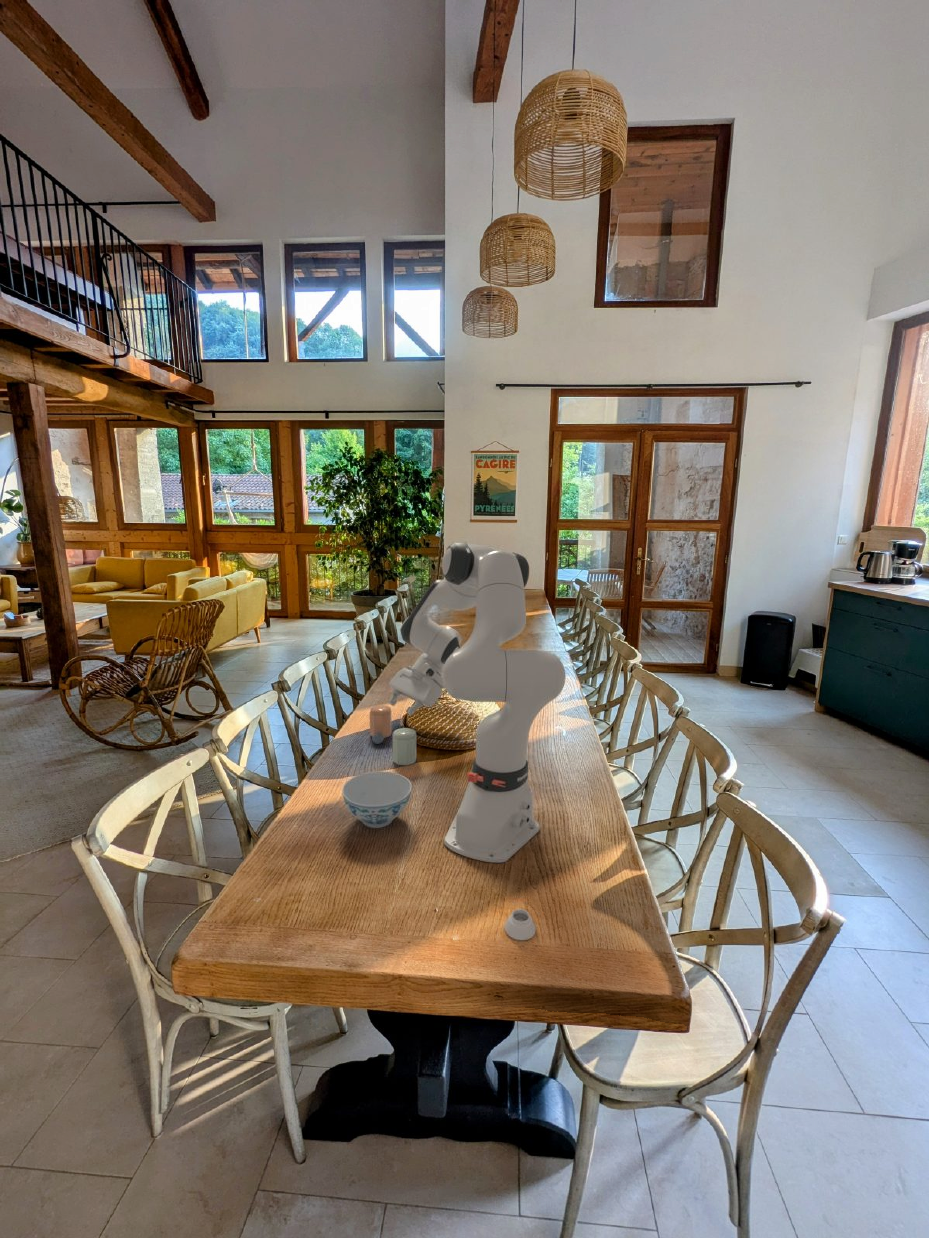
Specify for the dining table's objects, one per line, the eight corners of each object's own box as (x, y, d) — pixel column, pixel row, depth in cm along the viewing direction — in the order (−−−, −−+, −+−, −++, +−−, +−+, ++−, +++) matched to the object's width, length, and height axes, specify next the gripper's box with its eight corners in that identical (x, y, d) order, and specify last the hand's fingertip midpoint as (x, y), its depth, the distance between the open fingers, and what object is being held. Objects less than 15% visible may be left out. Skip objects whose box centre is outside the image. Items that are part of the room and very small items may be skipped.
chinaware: (393, 845, 116) (393, 811, 114) (329, 830, 120) (328, 797, 119) (422, 808, 129) (422, 777, 128) (364, 796, 134) (363, 766, 132)
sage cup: (420, 760, 153) (420, 733, 151) (401, 767, 149) (401, 738, 147) (407, 753, 157) (407, 726, 156) (389, 759, 153) (389, 731, 152)
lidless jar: (506, 917, 96) (503, 939, 92) (507, 902, 96) (504, 924, 91) (535, 922, 96) (534, 944, 91) (536, 907, 95) (535, 928, 90)
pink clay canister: (394, 734, 169) (394, 709, 168) (377, 739, 166) (377, 714, 164) (383, 728, 174) (383, 703, 172) (366, 733, 170) (366, 708, 168)
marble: (379, 746, 161) (379, 736, 160) (370, 744, 162) (370, 734, 162) (385, 742, 164) (385, 732, 163) (376, 740, 165) (376, 730, 165)
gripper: (400, 659, 183) (375, 694, 179) (439, 674, 168) (412, 713, 164) (411, 670, 187) (387, 704, 183) (451, 686, 172) (425, 724, 167)
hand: (399, 708), depth 173 cm, fingers open, 8 cm apart
